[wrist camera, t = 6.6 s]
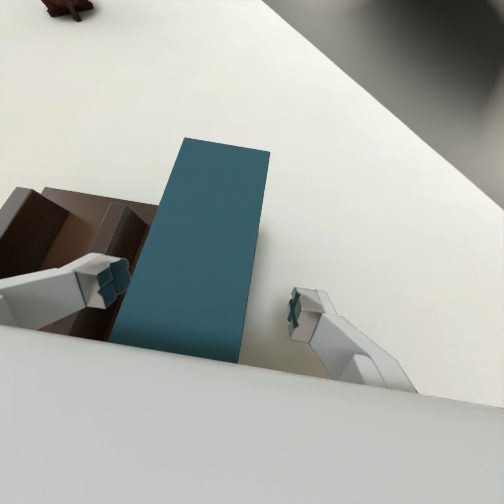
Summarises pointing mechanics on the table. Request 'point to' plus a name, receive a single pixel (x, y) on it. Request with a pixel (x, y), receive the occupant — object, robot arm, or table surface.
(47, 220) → the board
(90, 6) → the mate gourd
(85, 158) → the table surface
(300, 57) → the table surface
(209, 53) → the table surface
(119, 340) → the back pad
